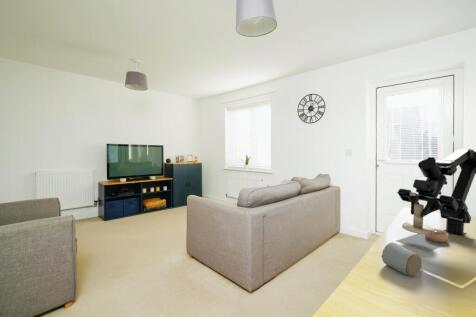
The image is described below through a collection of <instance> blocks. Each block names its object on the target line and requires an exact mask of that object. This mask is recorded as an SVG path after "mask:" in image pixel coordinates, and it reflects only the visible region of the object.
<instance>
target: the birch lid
mask: <svg viewBox="0 0 476 317" xmlns="http://www.w3.org/2000/svg"><path fill="white" fill-rule="evenodd" d="M424 208H425V206H424V204H420V203H419V204H414V214H413V222H404V223H401V224H402V225H401V228H402V229H404V230H405V231H407V232H409V233H415V234H426V235H430V234H434V231H435V230H434V229H435V228H433V227H431V226H428V225H426V224H424V217H421V216H420V215H421V213H422V211H423V209H424Z"/></svg>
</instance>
